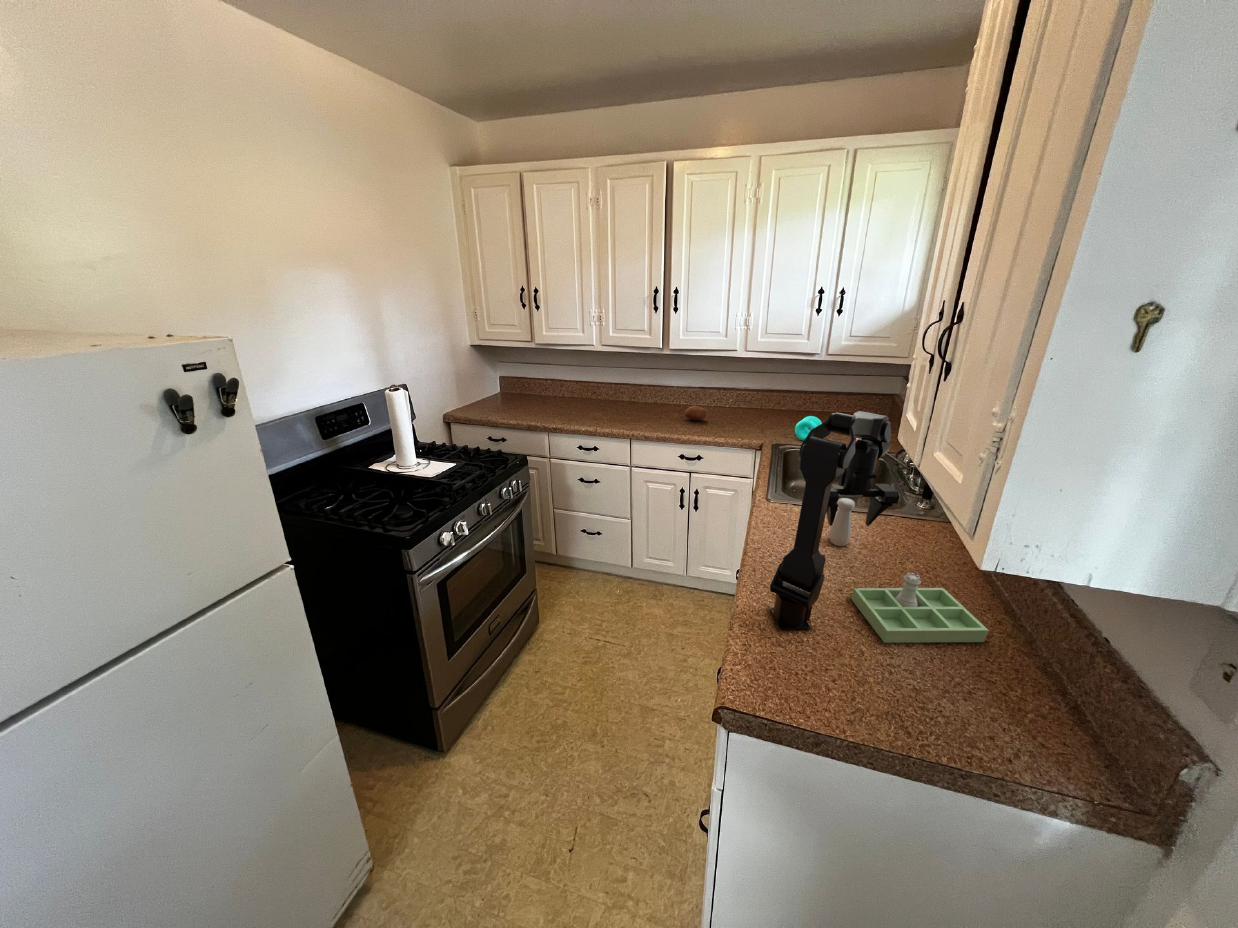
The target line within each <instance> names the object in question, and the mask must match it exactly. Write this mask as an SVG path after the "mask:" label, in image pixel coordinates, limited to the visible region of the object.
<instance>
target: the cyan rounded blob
mask: <svg viewBox="0 0 1238 928" xmlns="http://www.w3.org/2000/svg"><path fill="white" fill-rule="evenodd" d="M822 423H823V422H822V421H821V419H820V418H818V417H817V416H814V415H808V416H805V417H804V418H803V419H802V420H800V421H798V422H797V423H796V424H795V427H794V433H795V436H796V437H797V438H798V439H799V440H800V441H803V442H804V440H805V439H806V437H807V435H808V434H809V432H810V431H811V430H812V429H813V428H815V427H817V426H819V425H821V424H822Z"/></svg>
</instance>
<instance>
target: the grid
mask: <svg viewBox="0 0 1238 928" xmlns="http://www.w3.org/2000/svg"><path fill="white" fill-rule="evenodd" d="M902 589H903V587H854V588H853V590H852V594H851V598H850V599H851V601H852V602H853V603H854V604H855V606H856V607H857V609H858V610H859V612H860V613H861V614H862V615H863V617H864V618H865V619H866V621H867V622H868V623H869V625H870V627H872V629H873V630H874V632H875V633H876V634H877V635H878V637H879V638H880V639H881V641H882V642H883V643H887V644H888V643H892V644H893V643H985V642H986V638H987V636H988V633H989V629H988V628H987V627H986V626H984V624H983V623H981V621H980V620H979V619H977V618H976V617H975V616H974V615H973V614H972V613H971V612H970V611H969V610H968V609H966V608H965V607H964V605H962V604H961V603H960V602H959V601H958V600H957V599H956V598H954V597H953V595H952V594H950V592H949V591H947V590H946V589H945V587H918V589H917V590H916V601H917V605H918V606H917V607H902V606H901V605H900V603H899V602H898V601H897V600H896V599H895V597H896V596H897V595H899V593H901V591H902Z"/></svg>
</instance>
